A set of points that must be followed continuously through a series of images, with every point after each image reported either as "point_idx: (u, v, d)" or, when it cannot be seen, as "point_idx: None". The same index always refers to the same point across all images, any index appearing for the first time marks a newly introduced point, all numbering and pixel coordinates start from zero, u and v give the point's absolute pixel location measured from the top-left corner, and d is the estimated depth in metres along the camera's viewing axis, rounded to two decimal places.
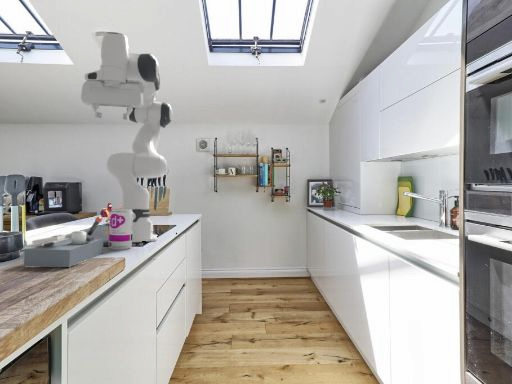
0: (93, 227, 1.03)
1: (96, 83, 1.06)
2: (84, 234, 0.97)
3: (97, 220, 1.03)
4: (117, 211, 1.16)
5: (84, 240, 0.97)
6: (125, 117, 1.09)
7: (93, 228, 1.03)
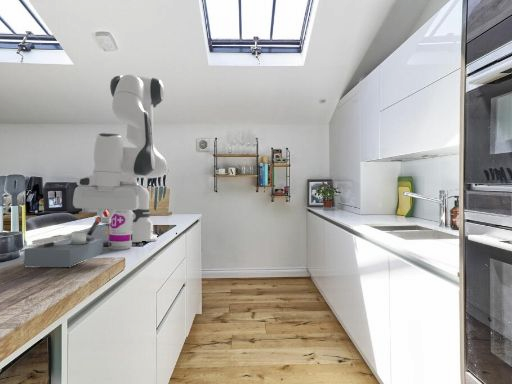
0: (93, 227, 1.03)
1: (88, 188, 1.01)
2: (84, 234, 0.97)
3: (97, 220, 1.03)
4: (117, 211, 1.16)
5: (84, 240, 0.97)
6: (107, 221, 1.03)
7: (93, 228, 1.03)
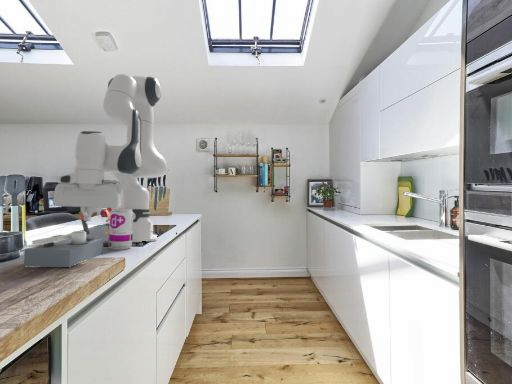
0: (84, 225, 1.03)
1: (69, 186, 1.00)
2: (84, 234, 0.97)
3: (82, 217, 1.02)
4: (117, 211, 1.16)
5: (84, 240, 0.97)
6: (86, 219, 1.02)
7: (85, 226, 1.03)
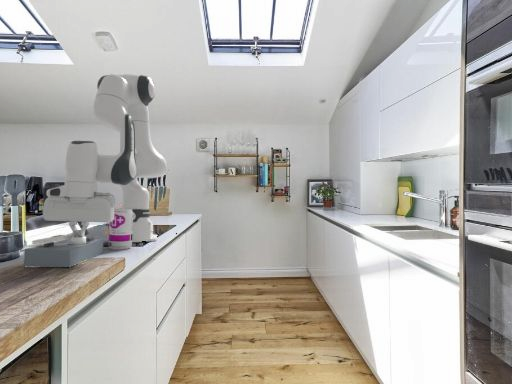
0: (82, 226, 1.03)
1: (59, 199, 0.94)
2: (84, 239, 0.97)
3: None
4: (117, 211, 1.16)
5: None
6: (80, 235, 0.96)
7: None
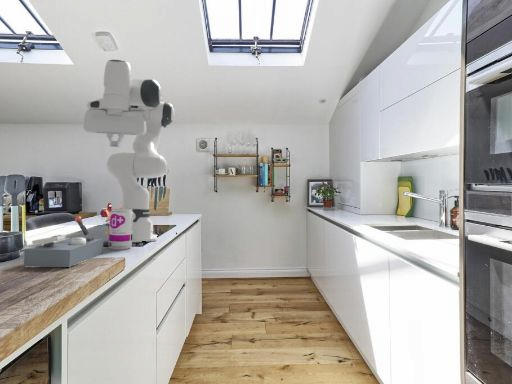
0: (82, 226, 1.03)
1: (99, 111, 1.05)
2: (84, 240, 0.97)
3: (77, 219, 1.02)
4: (117, 211, 1.16)
5: None
6: (116, 145, 1.07)
7: (83, 227, 1.03)
